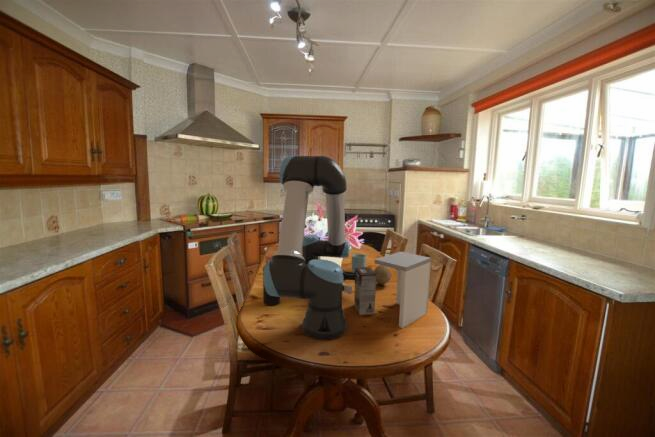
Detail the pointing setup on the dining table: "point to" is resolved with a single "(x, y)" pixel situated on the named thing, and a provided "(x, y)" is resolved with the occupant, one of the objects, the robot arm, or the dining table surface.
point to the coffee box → (365, 290)
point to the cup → (358, 261)
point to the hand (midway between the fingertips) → (362, 286)
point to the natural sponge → (382, 274)
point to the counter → (410, 284)
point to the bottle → (266, 297)
